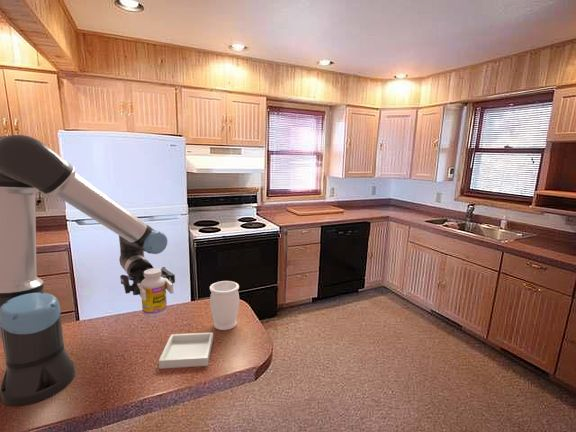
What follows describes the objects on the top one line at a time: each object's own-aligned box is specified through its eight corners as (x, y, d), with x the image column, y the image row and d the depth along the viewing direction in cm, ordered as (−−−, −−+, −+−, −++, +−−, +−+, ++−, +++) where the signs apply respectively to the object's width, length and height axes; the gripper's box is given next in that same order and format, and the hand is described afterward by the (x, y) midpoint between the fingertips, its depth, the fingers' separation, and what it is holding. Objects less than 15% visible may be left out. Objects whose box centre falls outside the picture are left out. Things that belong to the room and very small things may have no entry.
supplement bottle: (152, 319, 85) (149, 276, 83) (137, 313, 88) (134, 272, 86) (172, 309, 91) (169, 269, 89) (157, 304, 94) (154, 265, 92)
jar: (205, 323, 111) (204, 285, 109) (229, 314, 118) (229, 278, 116) (220, 335, 103) (219, 294, 101) (245, 325, 110) (244, 286, 108)
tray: (159, 368, 86) (158, 360, 86) (171, 341, 100) (171, 334, 99) (207, 365, 88) (207, 357, 88) (213, 339, 101) (213, 332, 101)
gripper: (169, 273, 109) (193, 295, 91) (107, 286, 97) (120, 315, 79) (168, 253, 108) (192, 272, 90) (104, 264, 96) (117, 288, 78)
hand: (158, 292), depth 85 cm, fingers closed on supplement bottle, 7 cm apart
